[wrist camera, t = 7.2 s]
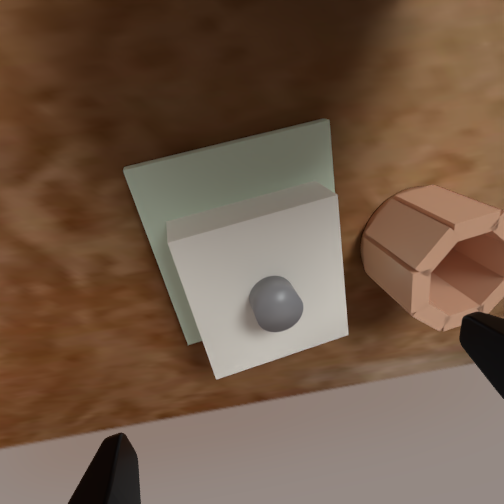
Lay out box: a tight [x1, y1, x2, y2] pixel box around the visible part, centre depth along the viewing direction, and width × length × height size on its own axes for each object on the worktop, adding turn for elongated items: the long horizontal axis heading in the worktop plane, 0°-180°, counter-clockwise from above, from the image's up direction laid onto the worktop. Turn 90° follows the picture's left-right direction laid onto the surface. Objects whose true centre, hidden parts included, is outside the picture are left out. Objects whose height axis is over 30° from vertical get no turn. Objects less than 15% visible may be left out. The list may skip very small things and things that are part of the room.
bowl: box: [360, 185, 504, 331], centre depth 14 cm, size 5×5×4 cm
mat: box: [123, 118, 335, 345], centre depth 13 cm, size 7×8×1 cm
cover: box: [166, 181, 349, 380], centre depth 12 cm, size 6×6×3 cm
